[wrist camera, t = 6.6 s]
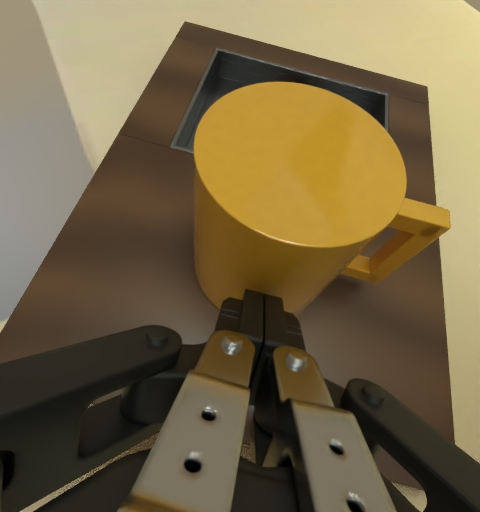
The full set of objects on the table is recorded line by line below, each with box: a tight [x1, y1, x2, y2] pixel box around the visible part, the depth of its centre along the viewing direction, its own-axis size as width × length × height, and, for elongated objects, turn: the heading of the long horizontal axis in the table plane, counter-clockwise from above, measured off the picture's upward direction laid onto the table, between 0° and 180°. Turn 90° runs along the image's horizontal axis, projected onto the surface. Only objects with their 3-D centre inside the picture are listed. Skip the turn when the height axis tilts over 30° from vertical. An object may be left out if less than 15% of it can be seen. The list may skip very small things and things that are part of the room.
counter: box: [0, 21, 455, 490], centre depth 22 cm, size 30×22×2 cm
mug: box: [193, 82, 451, 316], centre depth 15 cm, size 10×7×8 cm
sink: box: [169, 47, 389, 154], centre depth 25 cm, size 12×15×2 cm
